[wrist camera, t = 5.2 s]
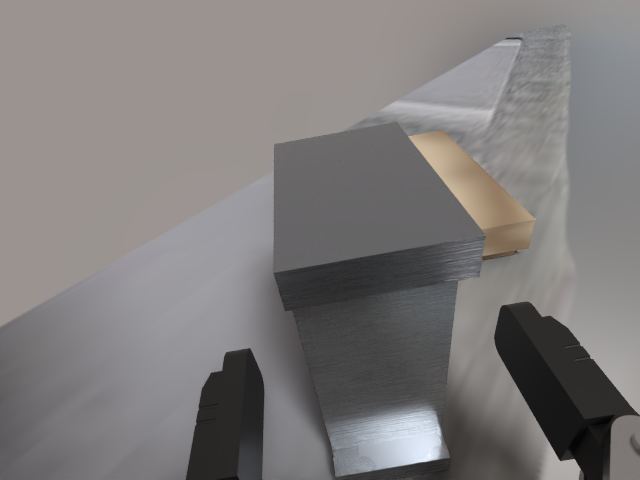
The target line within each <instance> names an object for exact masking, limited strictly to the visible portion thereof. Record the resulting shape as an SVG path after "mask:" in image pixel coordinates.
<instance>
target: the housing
mask: <svg viewBox="0 0 640 480" xmlns="http://www.w3.org/2000/svg"><path fill="white" fill-rule="evenodd" d="M485 238H486V235H485V233H484V232H483V231H482V230H481V228H480V227H479V226H478V225H477V223H476V222H475V221H474V219H473V218H472V217H471V216H470V214H469V213H468V212H467V211H466V209H465V208H464V207H463V206H462V204H461V203H460V202H459V200H458V199H457V198H456V197H455V195H454V194H453V193H452V192H451V190H450V189H449V188H448V187H447V185H446V184H445V183H444V181H443V180H442V179H441V178H440V176H439V175H438V174H437V173H436V171H435V170H434V169H433V168H432V166H431V165H430V164H429V162H428V161H427V160H426V159H425V157H424V156H423V155H422V154H421V152H420V151H419V150H418V149H417V147H416V146H415V145H414V143H413V142H412V141H411V140H410V138H409V137H408V136H407V135H406V133H405V132H404V131H403V130H402V128H401V127H400V126H399V124H398V123H397V122H395V123H390V124H384V125H379V126H373V127H368V128H362V129H356V130H351V131H345V132H340V133H334V134H329V135H323V136H318V137H313V138H307V139H302V140H296V141H290V142H285V143H279V144H275V145H274V276H275V279H276V282H277V286H278V289H279V292H280V295H281V299H282V302H283V305H284V309H285V311H289V310H293V313H294V317H295V320H296V324H297V327H298V331H299V334H300V338H301V341H302V345H303V348H304V352H305V355H306V359H307V362H308V366H309V369H310V373H311V376H312V380H313V384H314V387H315V391H316V394H317V398H318V401H319V405H320V408H321V412H322V415H323V419H324V422H325V426H326V429H327V433H328V436H329V440H330V443H331V447H332V451H333V459H334V467H335V476H336V480H393V479H399V478H405V477H411V476H416V475H422V474H428V473H434V472H440V471H446V470H449V464H450V458H451V457H450V454H449V452H448V449H447V446H446V443H445V440H444V438H443V435H442V432H441V428H442V419H443V410H444V401H445V392H446V383H447V374H448V365H449V356H450V347H451V339H452V330H453V321H454V312H455V303H456V294H457V285H458V281H459V280H464V279H470V278H476V277H479V275H480V269H481V263H482V256H483V250H484V244H485Z"/></svg>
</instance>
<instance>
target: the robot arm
mask: <svg viewBox="0 0 640 480" xmlns="http://www.w3.org/2000/svg"><path fill="white" fill-rule="evenodd" d="M494 340H495V345H496V349H497V351H498V353H499V355H500V357H501V359H502V361H503V362H504V364H505V366H506V368H507V369H508V371H509V373H510V375H511V376H512V378H513V380H514V382H515V383H516V385H517V387H518V389H519V390H520V392H521V394H522V396H523V397H524V399H525V401H526V402H527V404H528V406H529V408H530V409H531V411H532V413H533V415H534V416H535V418H536V420H537V422H538V423H539V425H540V427H541V429H542V430H543V432H544V434H545V436H546V437H547V439H548V441H549V443H550V444H551V446H552V448H553V450H554V451H555V453H556V455H557V456H558V458H559V460H560V461H563V460H570V459H575V460H576V462H577V463H578V465H579V467H580V469H581V470H580V475H579V480H640V415H639V414H638V413H637V412H635V410H634V409H633V408H632V407H631V406H630V405H629V403H628V402H627V401H626V400H625V399H624V397H623V396H622V395H621V394H620V392H619V391H618V390H617V389H616V387H615V386H614V385H613V384H612V382H611V381H610V380H609V379H608V378H607V376H606V375H605V374H604V373H603V371H602V370H601V369H600V368H599V366H598V365H597V364H596V363H595V361H594V360H593V359H591V358H590V355H589V354H588V353H587V351H586V350H585V349H584V348H583V347H582V346H580V343H579V342H578V340H577V339H576V338H575V337H574V335H573V334H572V333H571V332H570V330H569V329H568V328H567V327H566V326H564V325H563V324H561V323H560V322H558V321H557V320H556V319H554V318H553V317H551V316H546V317H541V315H540V314H539V313H538V311H537V310H536V309H535V307H534V306H533V305H532V304H531V303H529V302H521V303H515V304H509V305H503V306H502V307H501V309H500V313H499V317H498V321H497V326H496V330H495V335H494ZM263 420H264V383H263V378H262V374H261V372H260V369H259V367H258V365H257V362H256V360H255V358H254V355H253V353H252V351H251V349H250V348H248V349H242V350H237V351H231V352H226V354H225V356H224V362H223V370H222V371H220V372H214V373H211V374H210V376H209V378H208V379H207V381H206V383H205V385H204V387H203V388H202V392H201V397H200V403H199V411H198V414H197V420H196V422H197V424H196V426H195V431H194V437H193V442H192V448H191V454H190V459H189V465H188V471H187V476H186V480H262V454H263Z"/></svg>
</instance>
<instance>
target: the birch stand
mask: <svg viewBox="0 0 640 480" xmlns="http://www.w3.org/2000/svg"><path fill="white" fill-rule="evenodd" d="M408 137H409V138H410V140H411V141H412V142H413V143H414V145H415V146H416V147H417V149H418V150H419V151H420V152H421V154H422V155H423V156H424V157H425V159H426V160H427V161H428V162H429V164H430V165H431V166H432V168H433V169H434V170H435V171H436V173H437V174H438V175H439V176H440V178H441V179H442V180H443V181H444V183H445V184H446V185H447V187H448V188H449V189H450V190H451V192H452V193H453V194H454V195H455V197H456V198H457V199H458V200H459V202H460V203H461V204H462V206H463V207H464V208H465V209H466V211H467V212H468V213H469V214H470V216H471V217H472V218H473V219H474V221H475V222H476V223H477V225H478V226H479V227H480V228H481V230H482V231H483V232H484V233H485V235H486V238H485V244H484V250H483V256H482V260H485V259H490V258H496V257H502V256H507V255H513V254H514V253H515V250H521V249H526V248H529V244H530V240H531V236H532V232H533V228H534V224H535V220H536V219H535V218H534V217H533V216H532V215H530V214H529V213H528V212H527V211H526V210H525V209H524V208H523V207H522V206H521V205H520V204H519V203H518V202H517V201H516V200H515V199H514V198H513V197H512V196H511V195H510V194H509V193H508V192H507V191H506V190H505V189H504V188H502V187H501V186H500V185H499V184H498V183H497V182H496V181H495V180H494V179H493V178H492V177H491V176H490V175H489V174H488V173H487V172H486V171H485V170H484V169H483V168H482V167H481V166H480V165H479V164H478V163H477V162H476V161H474V160H473V159H472V158H471V157H470V156H469V155H468V154H467V153H466V152H465V151H464V150H463V149H462V148H461V147H460V146H459V145H458V144H457V143H456V142H455V141H454V140H453V139H452V138H451V137H450V136H449V135H447V134H446V133H445V132H444V131H443V130H441V131H436V132H430V133H425V134H419V135H414V136H408Z"/></svg>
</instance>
